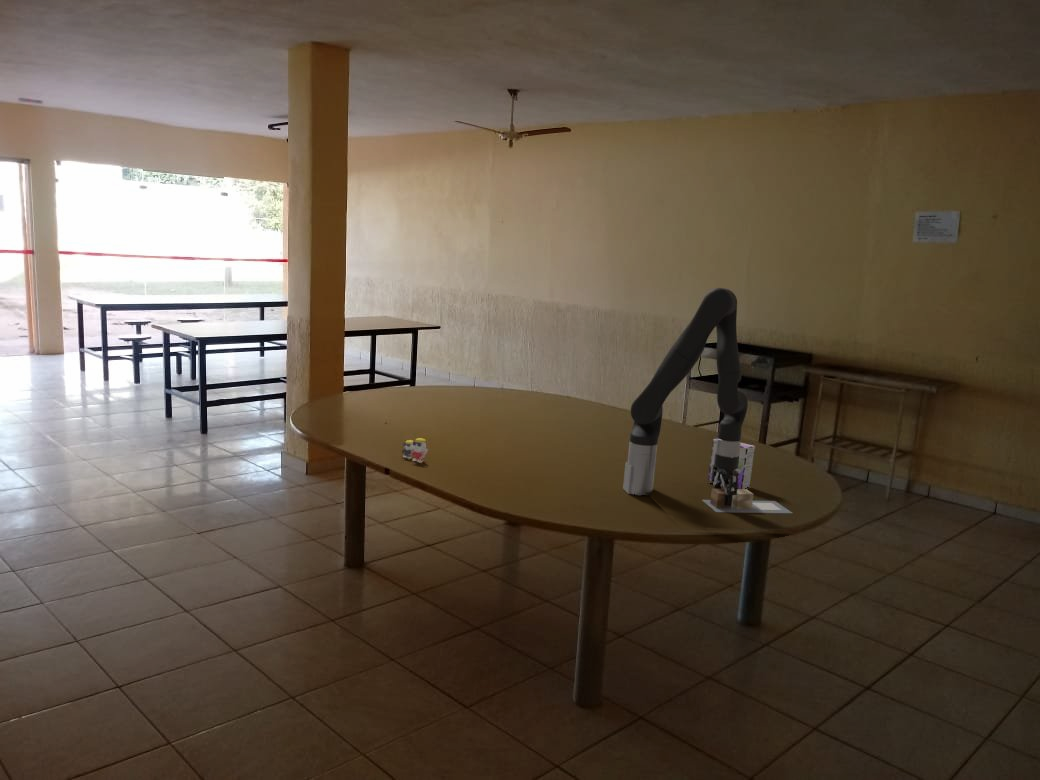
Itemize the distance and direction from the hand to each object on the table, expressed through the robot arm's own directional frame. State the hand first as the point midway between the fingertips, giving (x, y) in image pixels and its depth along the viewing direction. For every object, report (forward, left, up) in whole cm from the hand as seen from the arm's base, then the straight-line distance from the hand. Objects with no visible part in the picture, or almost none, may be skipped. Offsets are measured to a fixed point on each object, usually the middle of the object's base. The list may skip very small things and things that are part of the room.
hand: (722, 501), depth 254 cm
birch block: (+7, 0, -1) cm, 7 cm away
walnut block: (0, 0, -1) cm, 1 cm away
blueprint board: (+9, 0, -3) cm, 9 cm away
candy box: (+14, +25, -3) cm, 29 cm away
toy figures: (-96, +51, -3) cm, 109 cm away
